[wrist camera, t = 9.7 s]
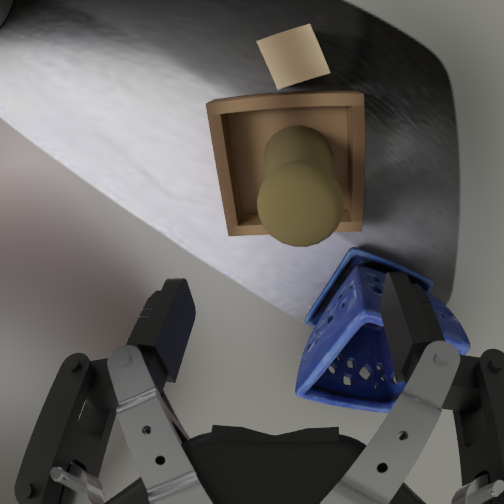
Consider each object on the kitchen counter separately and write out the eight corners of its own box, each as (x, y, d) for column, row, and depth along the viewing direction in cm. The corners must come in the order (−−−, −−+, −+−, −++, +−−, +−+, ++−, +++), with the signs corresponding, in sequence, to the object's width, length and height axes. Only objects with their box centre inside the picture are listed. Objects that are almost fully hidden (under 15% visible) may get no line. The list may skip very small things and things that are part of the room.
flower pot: (292, 314, 37) (288, 400, 28) (343, 226, 30) (363, 313, 20) (381, 339, 38) (394, 416, 29) (439, 266, 31) (478, 346, 21)
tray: (234, 220, 31) (228, 236, 28) (214, 99, 24) (205, 103, 22) (356, 215, 29) (361, 231, 26) (356, 90, 22) (363, 93, 20)
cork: (338, 131, 24) (366, 176, 15) (326, 194, 27) (341, 268, 18) (266, 120, 24) (250, 158, 15) (260, 185, 28) (242, 255, 19)
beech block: (279, 86, 23) (277, 89, 20) (261, 44, 21) (256, 41, 18) (324, 72, 22) (330, 73, 19) (307, 29, 20) (309, 23, 17)
